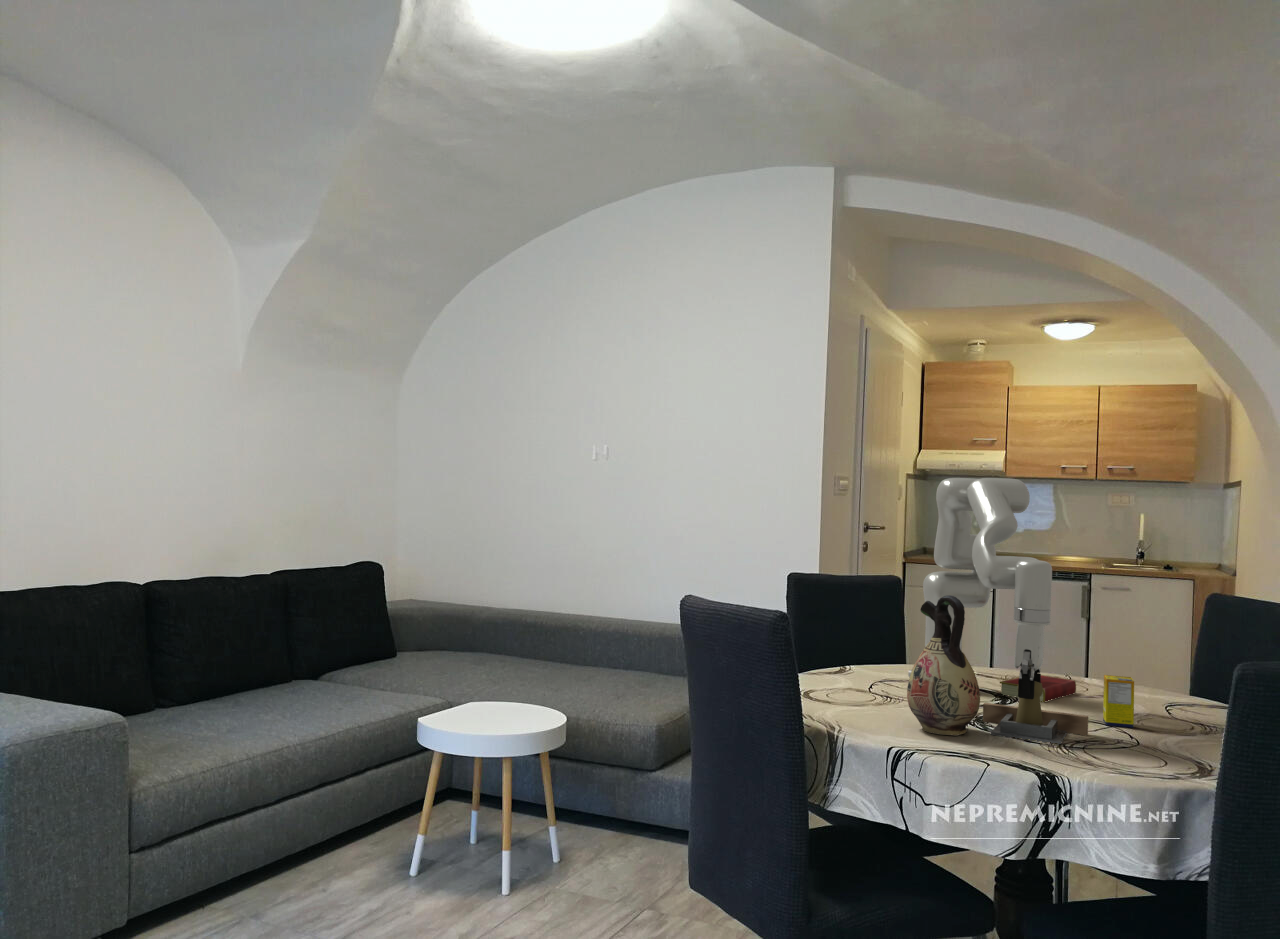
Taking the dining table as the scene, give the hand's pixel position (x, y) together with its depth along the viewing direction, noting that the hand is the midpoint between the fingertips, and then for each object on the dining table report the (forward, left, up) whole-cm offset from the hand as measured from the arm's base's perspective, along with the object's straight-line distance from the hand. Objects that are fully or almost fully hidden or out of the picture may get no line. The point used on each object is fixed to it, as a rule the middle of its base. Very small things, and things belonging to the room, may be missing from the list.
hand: (1029, 694), depth 217 cm
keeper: (0, 0, -9) cm, 9 cm away
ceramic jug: (-16, -10, -9) cm, 21 cm away
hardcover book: (-5, +53, -9) cm, 54 cm away
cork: (0, 0, -8) cm, 8 cm away
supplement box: (+16, +25, -9) cm, 31 cm away
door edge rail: (0, +8, -9) cm, 11 cm away
